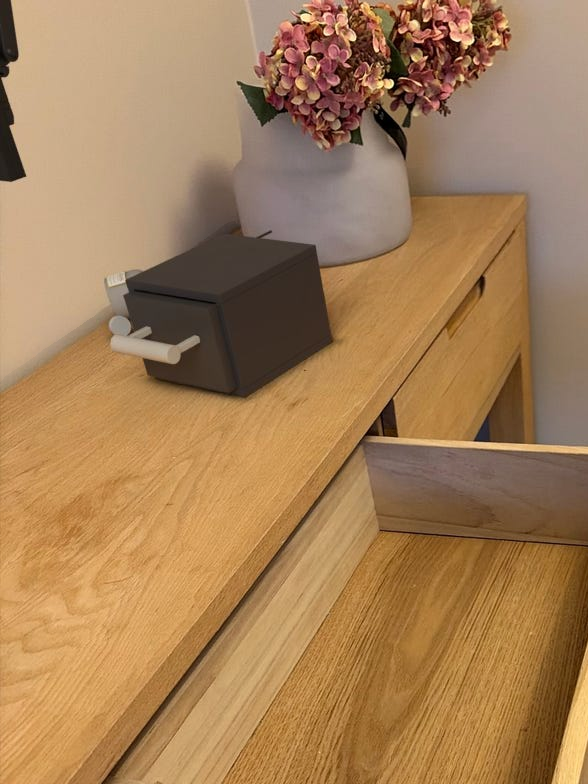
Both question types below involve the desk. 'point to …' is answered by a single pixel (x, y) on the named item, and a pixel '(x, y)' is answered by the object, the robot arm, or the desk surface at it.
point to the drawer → (177, 340)
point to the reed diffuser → (115, 293)
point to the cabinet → (251, 301)
